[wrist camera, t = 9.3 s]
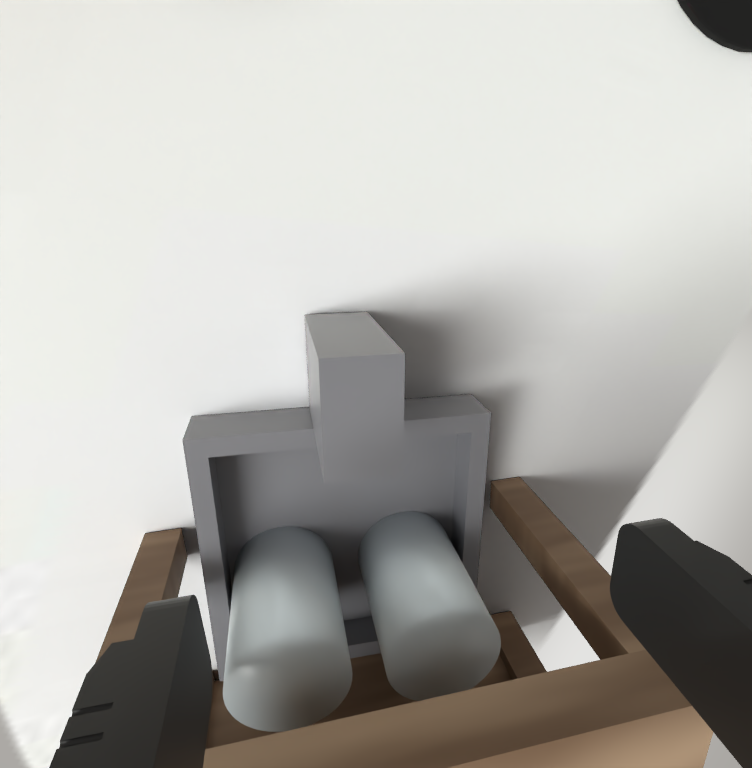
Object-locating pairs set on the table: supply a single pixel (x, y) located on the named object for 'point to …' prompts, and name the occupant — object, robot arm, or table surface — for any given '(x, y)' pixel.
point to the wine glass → (723, 21)
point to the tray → (342, 534)
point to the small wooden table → (486, 699)
